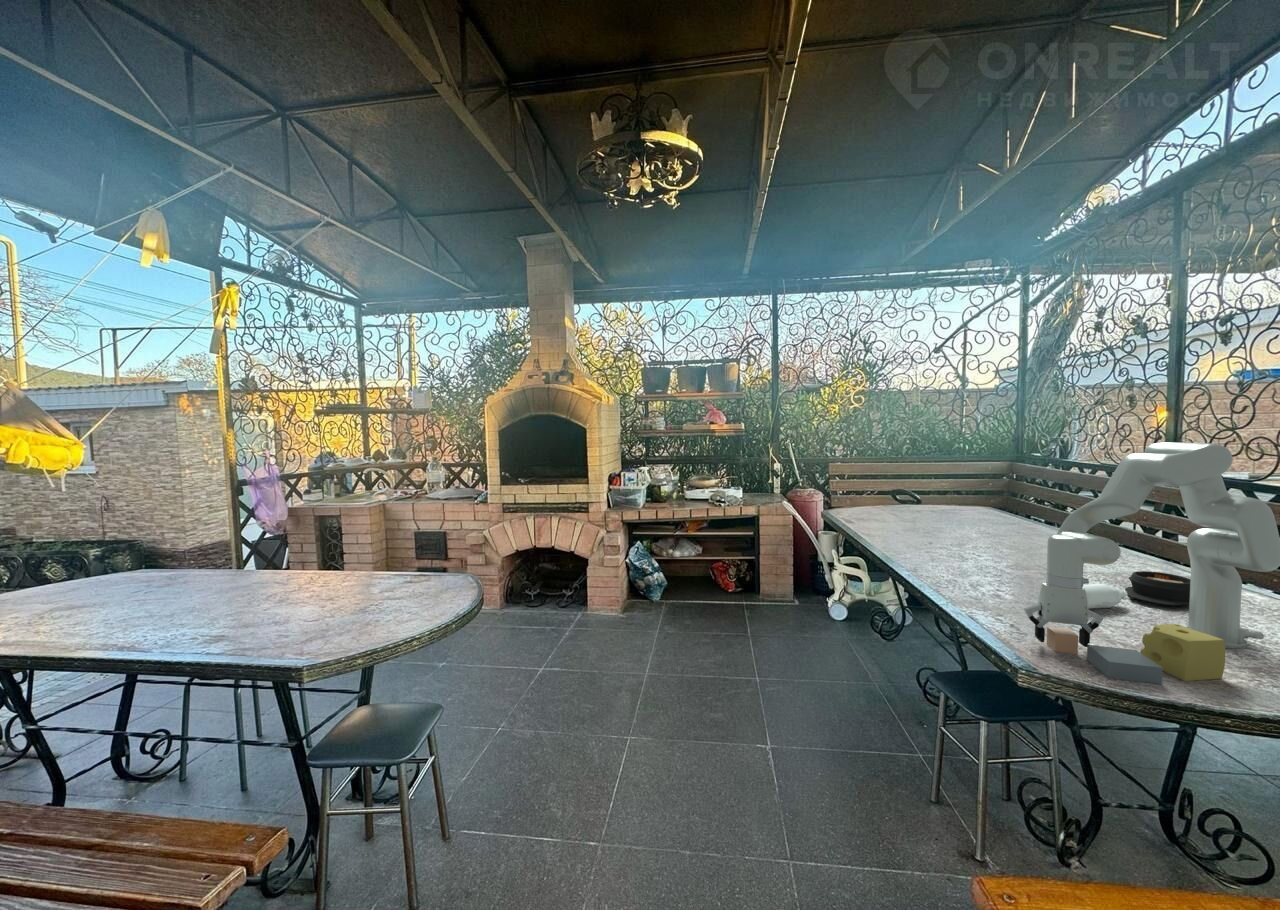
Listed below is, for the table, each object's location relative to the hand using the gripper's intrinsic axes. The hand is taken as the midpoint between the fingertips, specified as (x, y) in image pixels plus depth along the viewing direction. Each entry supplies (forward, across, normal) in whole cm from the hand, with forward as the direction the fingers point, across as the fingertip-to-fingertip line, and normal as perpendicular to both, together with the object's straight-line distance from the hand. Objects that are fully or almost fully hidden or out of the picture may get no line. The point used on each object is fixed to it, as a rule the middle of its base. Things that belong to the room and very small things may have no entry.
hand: (1061, 642), depth 136 cm
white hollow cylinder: (+2, -25, -42) cm, 49 cm away
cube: (+2, 0, 0) cm, 2 cm away
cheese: (+2, -22, +6) cm, 23 cm away
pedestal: (+2, -8, +11) cm, 14 cm away
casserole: (+2, -51, -57) cm, 77 cm away
